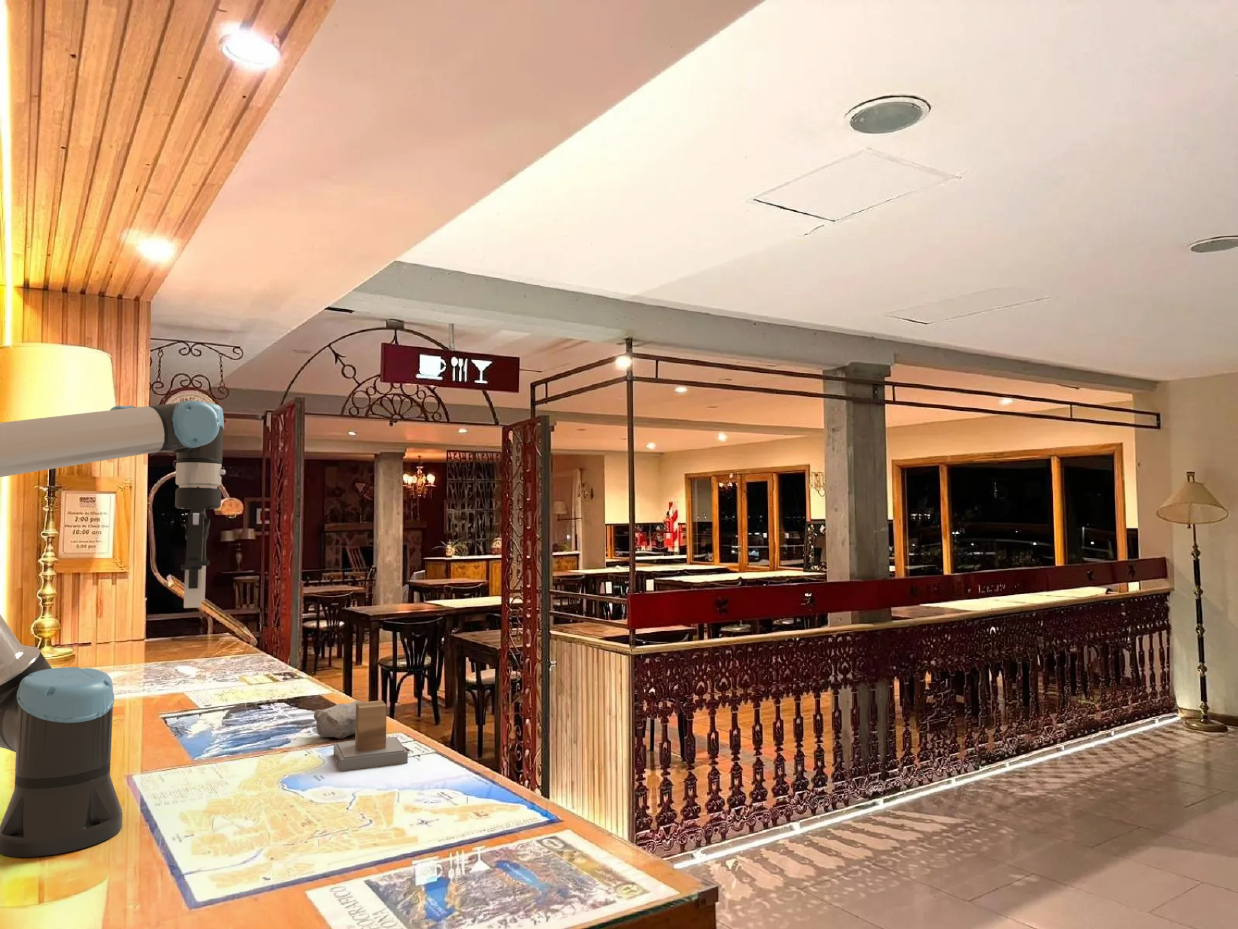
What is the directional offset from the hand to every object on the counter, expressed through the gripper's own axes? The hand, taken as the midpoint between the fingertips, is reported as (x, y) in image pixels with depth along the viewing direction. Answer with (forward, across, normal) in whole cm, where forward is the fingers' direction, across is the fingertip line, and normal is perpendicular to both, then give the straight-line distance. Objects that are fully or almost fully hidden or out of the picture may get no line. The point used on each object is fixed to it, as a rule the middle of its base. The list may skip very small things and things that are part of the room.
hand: (194, 604), depth 153 cm
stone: (+31, +17, -29) cm, 45 cm away
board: (+30, -2, -31) cm, 43 cm away
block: (+28, -2, -31) cm, 42 cm away
